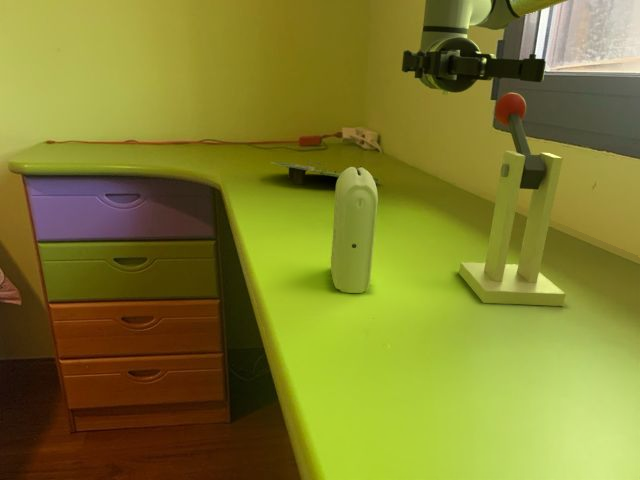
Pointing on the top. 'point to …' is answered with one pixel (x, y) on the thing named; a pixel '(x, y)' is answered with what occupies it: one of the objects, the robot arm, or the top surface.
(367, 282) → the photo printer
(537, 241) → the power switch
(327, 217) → the top surface
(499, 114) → the switch lever
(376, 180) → the city model
